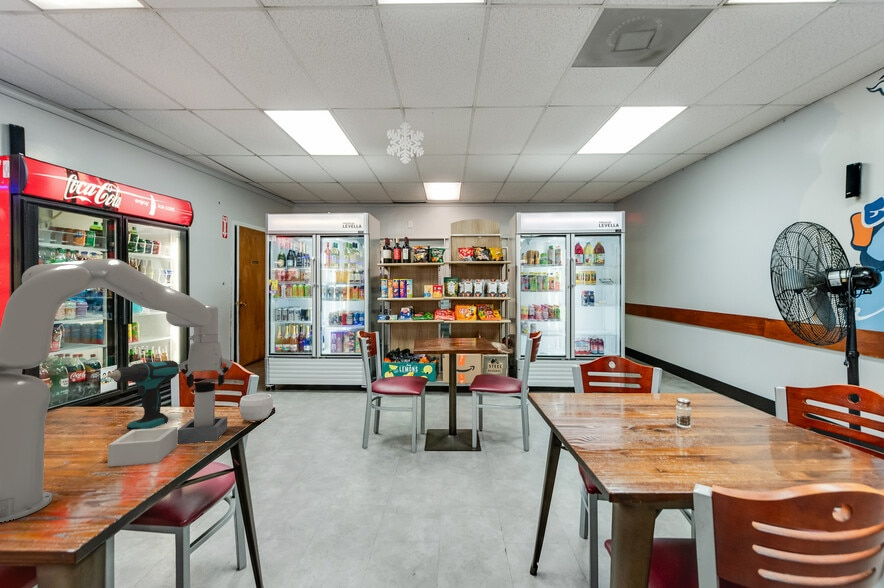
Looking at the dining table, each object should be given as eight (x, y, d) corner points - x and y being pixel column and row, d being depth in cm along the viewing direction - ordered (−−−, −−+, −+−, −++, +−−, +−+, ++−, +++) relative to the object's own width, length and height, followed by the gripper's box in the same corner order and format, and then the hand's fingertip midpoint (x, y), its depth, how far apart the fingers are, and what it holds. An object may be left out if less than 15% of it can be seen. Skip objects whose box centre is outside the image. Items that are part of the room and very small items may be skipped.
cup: (277, 415, 160) (278, 393, 160) (263, 425, 148) (263, 401, 148) (249, 415, 160) (249, 392, 160) (232, 424, 148) (233, 400, 148)
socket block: (216, 441, 131) (216, 427, 131) (177, 444, 128) (177, 429, 128) (227, 429, 142) (227, 416, 142) (191, 432, 139) (191, 418, 139)
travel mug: (188, 438, 134) (190, 382, 134) (207, 432, 139) (208, 378, 140) (199, 441, 131) (200, 384, 131) (217, 435, 137) (219, 380, 137)
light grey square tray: (158, 462, 114) (158, 441, 114) (107, 466, 111) (108, 444, 111) (177, 446, 126) (177, 426, 127) (131, 449, 123) (132, 429, 123)
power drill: (116, 440, 130) (118, 369, 131) (96, 438, 132) (97, 367, 132) (182, 417, 156) (183, 357, 156) (164, 416, 158) (166, 356, 158)
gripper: (174, 341, 130) (173, 390, 130) (229, 339, 134) (229, 387, 134) (183, 338, 137) (183, 384, 137) (235, 337, 141) (235, 382, 142)
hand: (205, 386), depth 136 cm, fingers open, 9 cm apart
